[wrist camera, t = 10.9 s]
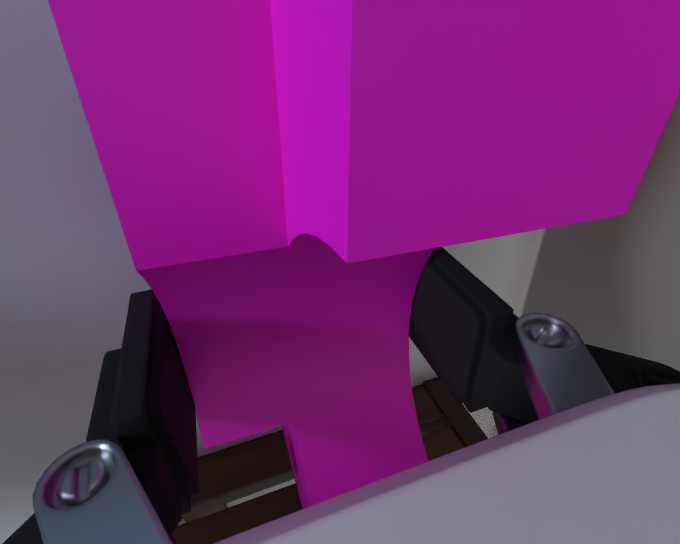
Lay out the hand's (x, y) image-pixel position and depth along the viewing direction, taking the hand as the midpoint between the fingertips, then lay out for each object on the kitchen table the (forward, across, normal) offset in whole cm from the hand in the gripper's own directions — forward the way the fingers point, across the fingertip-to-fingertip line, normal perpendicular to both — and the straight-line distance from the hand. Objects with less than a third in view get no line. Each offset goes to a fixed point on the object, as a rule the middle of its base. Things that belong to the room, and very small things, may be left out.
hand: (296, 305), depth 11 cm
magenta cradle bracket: (+2, 0, 0) cm, 2 cm away
